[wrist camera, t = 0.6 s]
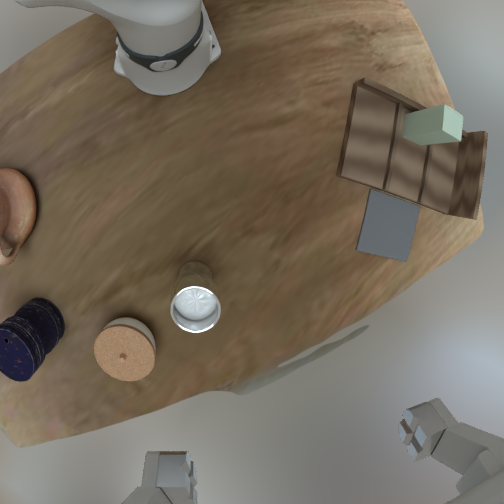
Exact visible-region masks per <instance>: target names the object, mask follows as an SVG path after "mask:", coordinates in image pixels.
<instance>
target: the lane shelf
mask: <svg viewBox="0 0 504 504" xmlns="http://www.w3.org/2000/svg"><path fill="white" fill-rule="evenodd" d="M423 109H427V108H426V107H424V106H422V105H420V104H418V103H416V102H415V101H413V100H411V99H409V98H407V97H405V96H403V95H401V94H399V93H397V92H395V91H393V90H391V89H389V88H387V87H385V86H383V85H381V84H378V83H376V82H374V81H372V80H370V79H367V78H363V79H361V80H359V81H358V82H356V83H354V85H353V91H352V97H351V103H350V108H349V114H348V119H347V125H346V130H345V136H344V141H343V146H342V151H341V156H340V161H339V166H338V170H337V175H336V176H338V177H342V178H345V179H348V180H351V181H354V182H358V183H361V184H364V185H367V186H370V187H373V188H376V189H379V190H382V191H384V192H387V193H390V194H393V195H396V196H399V197H401V198H404V199H407V200H410V201H412V202H415V203H418V204H420V205H423V206H426V207H428V208H431V209H433V210H436V211H438V212H441V213H443V214H447V215H452V216H458V217H464V218H469V219H475V220H477V215H478V209H479V204H480V197H481V191H482V184H483V177H484V169H485V160H486V150H487V137H488V133H487V132H485V131H479V132H470V133H467V132H465V131H464V130H462V137H461V141H459V142H449V143H439V144H430V145H421V146H420V145H418V144H416V143H414V142H412V141H410V140H408V139H406V138H404V137H402V135H403V128H404V120H405V114H408V113H412V112H415V111H419V110H423Z"/></svg>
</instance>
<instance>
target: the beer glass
mask: <svg viewBox="0 0 504 504" xmlns="http://www.w3.org/2000/svg"><path fill="white" fill-rule="evenodd" d="M170 311H171V316H172V319H173V320H174V322H175V323H176V324H177V326H179V327H180V328H181V329H183V330H185V331H187V332H191V333H201V332H205V331H207V330H209V329H211V328H212V327H213V326H214V325H215V324H216V323H217V321H218V319H219V317H220V313H221V304H220V294H219V291H218V288H217V286H216V284H215V283H214V281H213V275H212V272H211V270H210V268H209V267H208V266H207V265H206V264H204V263H202V262H199V261H192V262H189V263H186V264H185V265H184V266H183V267H182V268H181V269H180V271H179V274H178V281H177V282H176V284H175V285H174V287H173V290H172V293H171V307H170Z"/></svg>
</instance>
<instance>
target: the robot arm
mask: <svg viewBox="0 0 504 504" xmlns="http://www.w3.org/2000/svg"><path fill="white" fill-rule="evenodd" d="M14 1H15V2H17V3H18V4H20V5H22V6H25V7H28V8H34V7H45V6H64V7H73V8H78V9H82V10H86V11H89V12H92V13H95V14H98V15H100V16H102V17H104V18H106V19H108V20H109V21H110V22H111V23H112V24H113V26H114V27H115V29H116V30H117V36H118V37H117V38H116V44H117V45H118V48H117V50H116V58H115V63H114V70H115V72H116V73H117V74H118V75H121V76H123V77H126V78H128V79H129V80H131V82H132V83H133V84H134V85H135V86H136V87H138V88H139V89H140V90H142V91H144V92H146V93H149V94H153V95H171V94H176V93H179V92H181V91H184V90H186V89H188V88H189V87H191V86H192V85H193V84H195V83H196V82H197V81H198V80H199V79H200V77H201V76H202V75H203V73H204V72H205V70H206V68H207V67H208V66H209V65H210V64H211V63H213V62H214V61H215V60H217V59H218V58H219V57H220V56H221V49H220V46H219V43H218V41H217V38H216V35H215V33H214V30H213V27H212V25H211V22H210V20H209V17H208V14H207V12H206V9H205V7H204V4H203V2H202V0H14ZM212 46H214V48H212ZM403 417H404V419H403V420H402V421H401V422H400V424H399V428H398V430H399V436H400V439H401V441H402V443H404V444H406V445H408V449H407V452H408V453H409V455H410V457H411V459H412V461H413V462H416V461H418V460H421V459H423V458H426V457H428V456H431V457H433V458H435V459H436V460H438V461H439V462H441V463H443V464H444V465H446V466H448V467H450V468H451V469H453V470H455V471H457V472H458V473H460V474H462V475H463V476H462V477H461V479H460V480H459V481H458V482H457V484H456V487H457V489H458V491H459V493H460V496H458V497H456V498H454V499H452V500H451V501H449V502H447V503H445V504H504V439H503V438H501V437H498V436H495V435H493V434H490V433H488V432H485V431H482V430H480V429H477V428H475V427H472V426H470V425H467V424H465V423H462V422H460V423H458V422H457V421H456V420H455V418H454V417H453V415H452V414H451V413H450V411H449V410H448V409H447V407H446V406H445V405H444V404H443V402H442V401H441V400H440V399H439V398H435V399H433V400H430V401H428V402H424V403H422V404H419V405H417V406H414V407H411V408H409V409H406V410H405V411H404V413H403ZM196 484H197V474H196V468H195V464H194V462H193V461H191V456H190V453H189V451H171V452H169V451H168V452H167V451H148V452H147V453H146V456H145V463H144V470H143V478H142V485H141V487H137V488H136V489H135V490H134V491H133V492H132V493H131V494H130V495H129V496H128V497H127V499H125V500H124V501H123V503H121V504H197V492H196V490H195V488H194V486H195V485H196Z"/></svg>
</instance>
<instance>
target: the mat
mask: <svg viewBox="0 0 504 504" xmlns="http://www.w3.org/2000/svg"><path fill="white" fill-rule="evenodd" d="M419 209H420V206H417V205H415V204H412V203H409V202H407V201H404V200H401V199H398V198H395V197H392V196H390V195H387V194H384V193H381V192H378V191H375V190H372V189H370V191H369V196H368V201H367V205H366V210H365V214H364V218H363V223H362V227H361V231H360V235H359V239H358V243H357V247H356V250H357V251H361V252H366V253H370V254H374V255H379V256H383V257H388V258H392V259H396V260H400V261H405V262H407V259H408V255H409V251H410V248H411V244H412V240H413V235H414V231H415V227H416V223H417V218H418V214H419Z"/></svg>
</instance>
